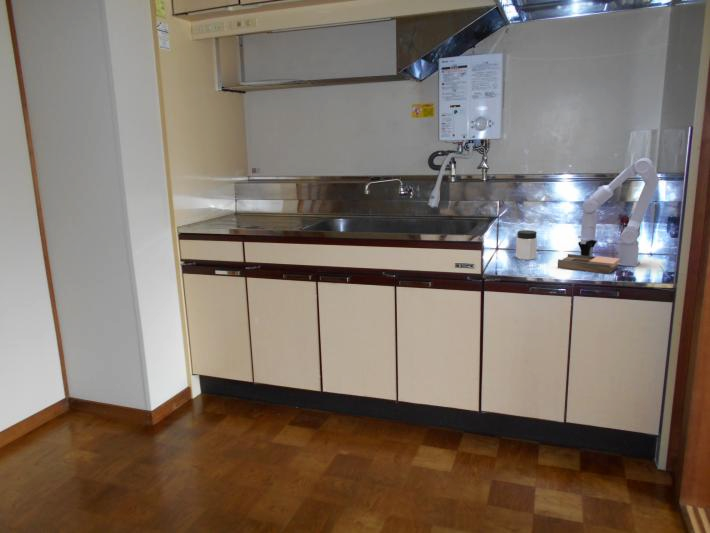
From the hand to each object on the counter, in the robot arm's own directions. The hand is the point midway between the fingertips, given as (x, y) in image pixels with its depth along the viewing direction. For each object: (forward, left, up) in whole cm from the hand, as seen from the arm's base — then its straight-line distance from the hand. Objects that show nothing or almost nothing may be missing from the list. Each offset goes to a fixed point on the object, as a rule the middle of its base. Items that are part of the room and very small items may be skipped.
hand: (586, 257), depth 241 cm
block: (0, 0, -1) cm, 1 cm away
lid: (+13, +11, +1) cm, 17 cm away
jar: (+8, -24, -2) cm, 25 cm away
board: (+13, +4, -1) cm, 14 cm away
